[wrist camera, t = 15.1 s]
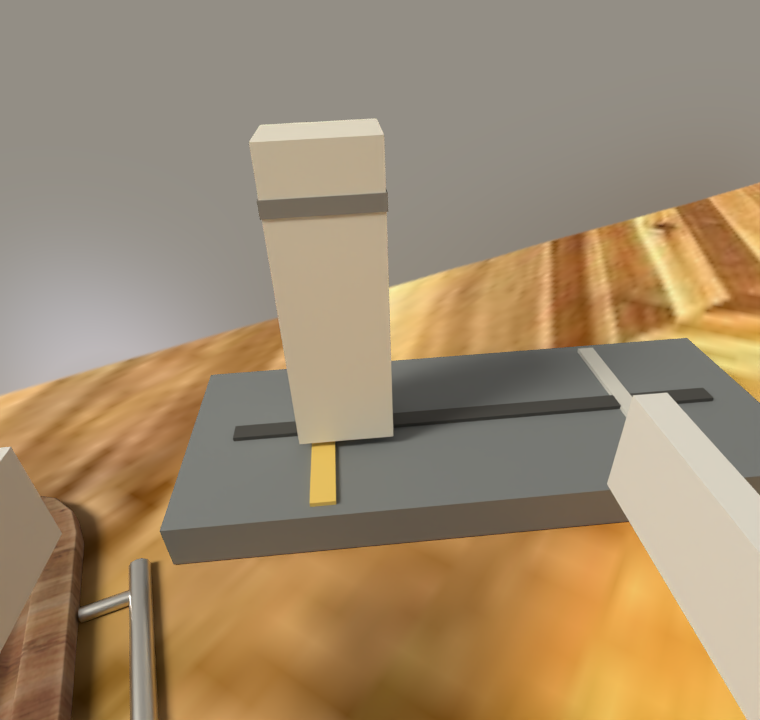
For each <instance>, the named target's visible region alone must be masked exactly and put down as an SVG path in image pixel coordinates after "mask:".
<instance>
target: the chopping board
mask: <svg viewBox="0 0 760 720" xmlns="http://www.w3.org/2000/svg"><path fill="white" fill-rule="evenodd" d="M40 497H41V499H42V500H43V502H44V504H45V505H46V507H47V509H48V510H49V512H50V514H51V516H52V517H53V519H54V521H55V522H56V524H57V526H58V527H59V529H60V531H61V533H62V534H61V536H60V538H59V540H58V542H57V544H56V546H55V548H54V550H53V552H52V554H51V556H50V558H49V560H48V561H47V563H46V565H45V567H44V569H43V571H42V573H41V575H40V577H39V579H38V581H37V583H36V585H35V587H34V588H33V590H32V592H31V594H30V596H29V598H28V600H27V602H26V604H25V606H24V608H23V610H22V612H21V614H20V615H19V617H18V619H17V621H16V623H15V625H14V627H13V629H12V631H11V633H10V635H9V637H8V639H7V641H6V642H5V644H4V646H3V648H2V650H1V652H0V720H71V713H72V699H73V686H74V673H75V660H76V647H77V634H78V621H79V620H80V622H82V623H83V622H86V621H88V620H91V619H94V618H97V617H99V616H102V615H105V614H108V613H110V612H113V611H116V610H119V609H122V608H124V607H127V606H129V656H130V720H159V713H158V694H157V674H156V654H155V634H154V614H153V595H152V575H151V562H150V561H149V560H148V559H143V558H141V559H137V560H135V561H133V562H131V564H130V565H129V590H128V591H125V592H122V593H119V594H116V595H114V596H111V597H108V598H105V599H102V600H99V601H97V602H94V603H91V604H88V605H85V606H82V607H80V595H81V582H82V569H83V556H84V540H83V536H82V532H81V527H80V523H79V521H78V519H77V517H76V516H75V514H74V512H73V511H72V510H71V509H70V508H68V507H67V506H66V505H64V504H63V503H62V502H61V501H59V500H58V499H57V498H51V497H44V496H40Z"/></svg>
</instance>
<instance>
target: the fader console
mask: <svg viewBox="0 0 760 720" xmlns="http://www.w3.org/2000/svg"><path fill="white" fill-rule="evenodd" d="M391 375H392V407H393V436H391V437H379V438H367V439H356V440H344V441H332V442H320V443H308V444H299V439H298V433H297V427H296V421H295V415H294V409H293V403H292V397H291V391H290V385H289V379H288V373H287V369H282V370H269V371H257V372H244V373H231V374H218V375H211V377H210V380H209V383H208V386H207V389H206V392H205V395H204V398H203V401H202V404H201V407H200V410H199V413H198V416H197V419H196V422H195V426H194V429H193V432H192V435H191V438H190V441H189V444H188V447H187V450H186V453H185V456H184V459H183V462H182V465H181V468H180V471H179V474H178V477H177V480H176V483H175V486H174V489H173V492H172V495H171V499H170V502H169V505H168V508H167V511H166V514H165V517H164V520H163V523H162V526H161V529H160V533H161V535H162V538H163V540H164V542H165V545H166V547H167V550H168V552H169V554H170V557H171V559H172V561H173V564H184V563H195V562H205V561H216V560H227V559H237V558H248V557H258V556H269V555H279V554H290V553H300V552H311V551H321V550H332V549H343V548H353V547H364V546H374V545H385V544H395V543H406V542H416V541H427V540H437V539H448V538H458V537H469V536H480V535H490V534H501V533H511V532H522V531H532V530H543V529H553V528H564V527H574V526H585V525H596V524H606V523H617V522H627V521H629V520H628V519H627V517H626V515H625V514H624V512H623V510H622V509H621V507H620V505H619V503H618V502H617V500H616V498H615V497H614V495H613V493H612V492H611V490H610V488H609V487H608V485H607V482H608V479H609V475H610V472H611V469H612V465H613V462H614V458H615V455H616V451H617V448H618V445H619V441H620V438H621V434H622V431H623V428H624V424H625V421H626V417H627V414H628V411H629V407H630V404H631V400H632V397H633V395H644V394H656V393H668V394H669V395H670V396H671V397H672V399H673V400H674V401H675V402H676V403H677V404H678V405H679V406H680V407H681V409H682V410H683V411H684V412H685V413H686V414H687V415H688V416H689V417H690V419H691V420H692V421H693V422H694V423H695V424H696V425H697V426H698V427H699V429H700V430H701V431H702V432H703V433H704V434H705V435H706V436H707V437H708V438H709V440H710V441H711V442H712V443H713V444H714V445H715V446H716V447H717V448H718V450H719V451H720V452H721V453H722V454H723V455H724V456H725V457H726V458H727V460H728V461H729V462H730V463H731V464H732V465H733V466H734V467H735V468H736V470H737V471H738V472H739V473H740V474H741V475H742V476H743V477H744V478H745V480H746V481H747V482H748V483H749V484H750V485H751V486H752V487H753V488H754V490H755V491H756V492H757V493H758V494H759V495H760V403H759V402H758V401H757V400H756V399H755V398H753V397H752V396H751V395H750V394H749V393H748V392H747V391H746V390H744V389H743V388H742V387H741V386H740V385H739V384H738V383H737V382H736V381H734V380H733V379H732V378H731V377H730V376H729V375H728V374H727V373H725V372H724V371H723V370H722V369H721V368H720V367H719V366H718V365H716V364H715V363H714V362H713V361H712V360H711V359H710V358H709V357H708V356H706V355H705V354H704V353H703V352H702V351H701V350H700V349H699V348H697V347H696V346H695V345H694V344H693V343H692V342H691V341H690V340H689V339H687V338H681V339H668V340H656V341H643V342H630V343H617V344H604V345H591V346H578V347H565V348H553V349H540V350H527V351H514V352H501V353H488V354H475V355H462V356H450V357H437V358H424V359H411V360H398V361H391Z"/></svg>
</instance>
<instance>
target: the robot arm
mask: <svg viewBox="0 0 760 720" xmlns="http://www.w3.org/2000/svg"><path fill="white" fill-rule="evenodd" d="M607 485H608V487H609V488H610V490H611V492H612V493H613V495H614V497H615V498H616V500H617V502H618V503H619V505H620V507H621V509H622V510H623V512H624V514H625V515H626V517H627V519H628V520H629V522H630V524H631V525H632V527H633V529H634V530H635V532H636V534H637V535H638V537H639V539H640V540H641V542H642V544H643V546H644V547H645V549H646V551H647V552H648V554H649V556H650V557H651V559H652V561H653V562H654V564H655V566H656V567H657V569H658V571H659V572H660V574H661V576H662V577H663V579H664V581H665V583H666V584H667V586H668V588H669V589H670V591H671V593H672V594H673V596H674V598H675V599H676V601H677V603H678V604H679V606H680V608H681V609H682V611H683V613H684V614H685V616H686V618H687V619H688V621H689V623H690V625H691V626H692V628H693V630H694V631H695V633H696V635H697V636H698V638H699V640H700V641H701V643H702V645H703V646H704V648H705V650H706V651H707V653H708V655H709V656H710V658H711V660H712V662H713V663H714V665H715V667H716V668H717V670H718V672H719V673H720V675H721V677H722V678H723V680H724V682H725V683H726V685H727V687H728V688H729V690H730V692H731V693H732V695H733V697H734V699H735V700H736V702H737V704H738V705H739V707H740V709H741V710H742V712H743V714H744V715H745V717H746V719H747V720H760V495H759V494H758V493H757V492H756V491H755V490H754V488H753V487H752V486H751V485H750V484H749V483H748V482H747V481H746V480H745V478H744V477H743V476H742V475H741V474H740V473H739V472H738V471H737V470H736V468H735V467H734V466H733V465H732V464H731V463H730V462H729V461H728V460H727V458H726V457H725V456H724V455H723V454H722V453H721V452H720V451H719V450H718V448H717V447H716V446H715V445H714V444H713V443H712V442H711V441H710V440H709V438H708V437H707V436H706V435H705V434H704V433H703V432H702V431H701V430H700V429H699V427H698V426H697V425H696V424H695V423H694V422H693V421H692V420H691V419H690V417H689V416H688V415H687V414H686V413H685V412H684V411H683V410H682V409H681V407H680V406H679V405H678V404H677V403H676V402H675V401H674V400H673V399H672V397H671V396H670V395H669V394H668V393H656V394H644V395H633V397H632V400H631V404H630V407H629V411H628V414H627V417H626V421H625V424H624V428H623V431H622V434H621V438H620V441H619V445H618V448H617V451H616V455H615V458H614V462H613V465H612V469H611V472H610V475H609V479H608V482H607ZM61 534H62V533H61V531H60V529H59V527H58V526H57V524H56V522H55V521H54V519H53V517H52V516H51V514H50V512H49V510H48V509H47V507H46V505H45V504H44V502H43V500H42V499H41V497H40V495H39V494H38V492H37V490H36V488H35V487H34V485H33V483H32V482H31V480H30V478H29V477H28V475H27V473H26V471H25V470H24V468H23V466H22V465H21V463H20V461H19V460H18V458H17V456H16V454H15V453H14V451H13V449H12V448H11V447H3V448H0V652H1V650H2V648H3V646H4V644H5V642H6V641H7V639H8V637H9V635H10V633H11V631H12V629H13V627H14V625H15V623H16V621H17V619H18V617H19V615H20V614H21V612H22V610H23V608H24V606H25V604H26V602H27V600H28V598H29V596H30V594H31V592H32V590H33V588H34V587H35V585H36V583H37V581H38V579H39V577H40V575H41V573H42V571H43V569H44V567H45V565H46V563H47V561H48V560H49V558H50V556H51V554H52V552H53V550H54V548H55V546H56V544H57V542H58V540H59V538H60V536H61Z"/></svg>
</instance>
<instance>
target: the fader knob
mask: <svg viewBox="0 0 760 720" xmlns="http://www.w3.org/2000/svg"><path fill="white" fill-rule="evenodd" d="M249 146H250V152H251V157H252V163H253V170H254V176H255V182H256V187H257V194H258V199H257V205H258V211H259V216H260V220H262V223H263V230H264V235H265V241H266V248H267V253H268V259H269V265H270V271H271V277H272V283H273V289H274V295H275V301H276V307H277V313H278V319H279V325H280V331H281V337H282V343H283V349H284V355H285V361H286V367H287V373H288V379H289V385H290V391H291V397H292V403H293V409H294V415H295V421H296V427H297V433H298V439H299V444H308V443H320V442H332V441H344V440H356V439H367V438H379V437H391V436H393V407H392V375H391V342H390V310H389V280H388V279H389V278H388V246H387V217H386V216H387V214H386V212H388V193H387V190H386V181H385V151H384V134H383V132H382V129H381V127H380V125H379V123H378V121H377V119H358V120H342V121H322V122H304V123H287V124H286V123H285V124H267V125H260V126H259V128H258V129H257V131H256V132H255V134H254V135H253V137H252V138H251V140H250V142H249Z"/></svg>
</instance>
